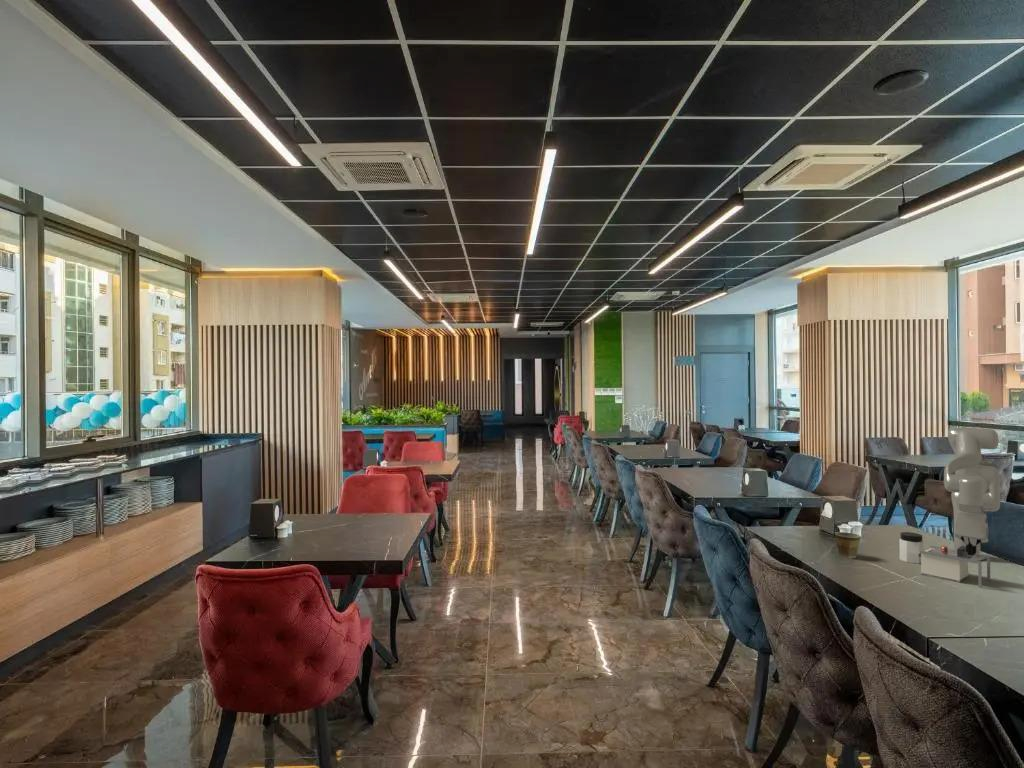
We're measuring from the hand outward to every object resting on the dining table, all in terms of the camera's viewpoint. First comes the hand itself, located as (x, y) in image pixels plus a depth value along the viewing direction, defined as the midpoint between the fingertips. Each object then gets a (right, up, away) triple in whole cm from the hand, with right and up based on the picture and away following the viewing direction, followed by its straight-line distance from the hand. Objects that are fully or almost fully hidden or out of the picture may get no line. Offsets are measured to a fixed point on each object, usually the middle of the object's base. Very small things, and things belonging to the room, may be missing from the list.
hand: (971, 554), depth 234 cm
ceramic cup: (-30, -11, +36) cm, 48 cm away
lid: (-4, -2, +5) cm, 6 cm away
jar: (-5, -11, +28) cm, 31 cm away
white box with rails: (-4, -11, +5) cm, 12 cm away
